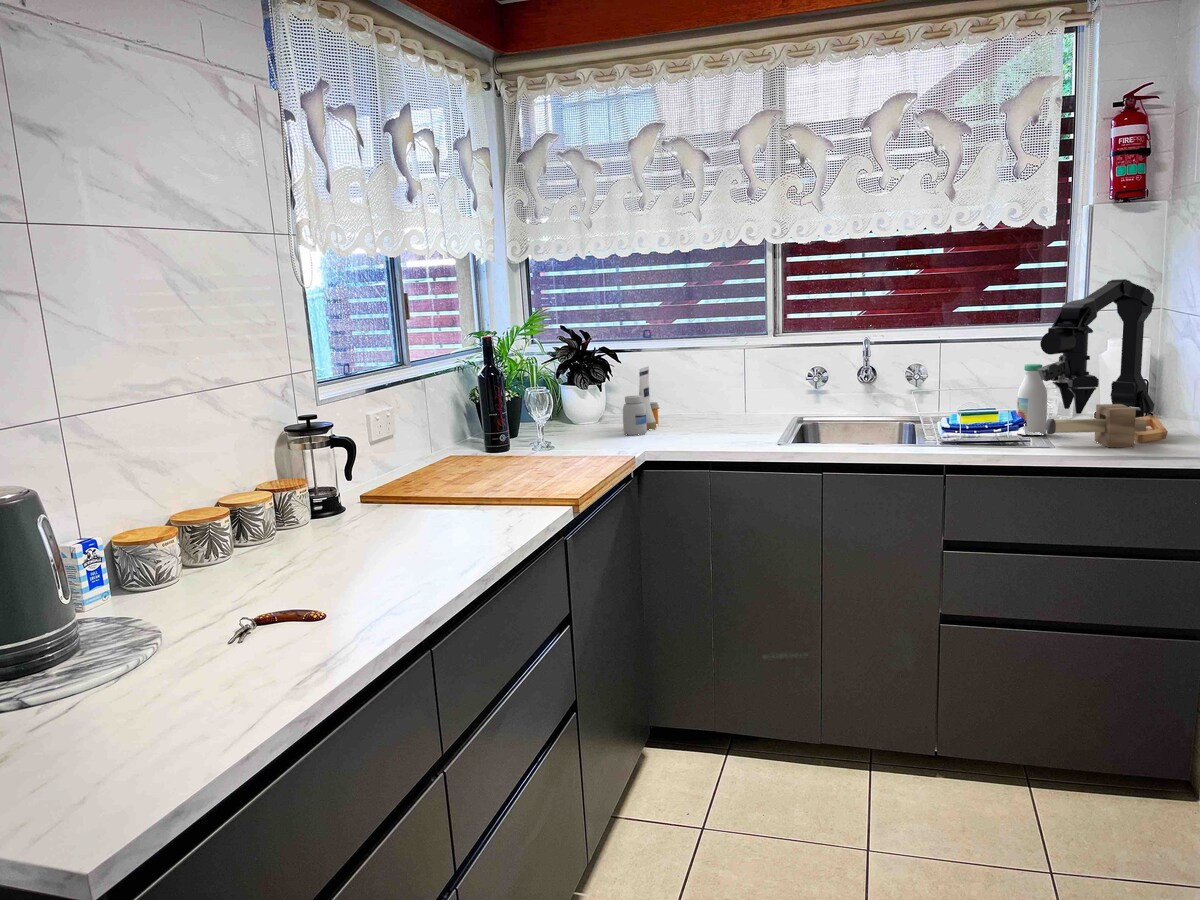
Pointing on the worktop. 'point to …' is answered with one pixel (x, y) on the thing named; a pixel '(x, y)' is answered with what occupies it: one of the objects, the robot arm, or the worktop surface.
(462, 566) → the worktop surface
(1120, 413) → the bearing block
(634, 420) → the toiletry set
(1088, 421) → the shaft
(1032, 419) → the milk bottle
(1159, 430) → the frame
